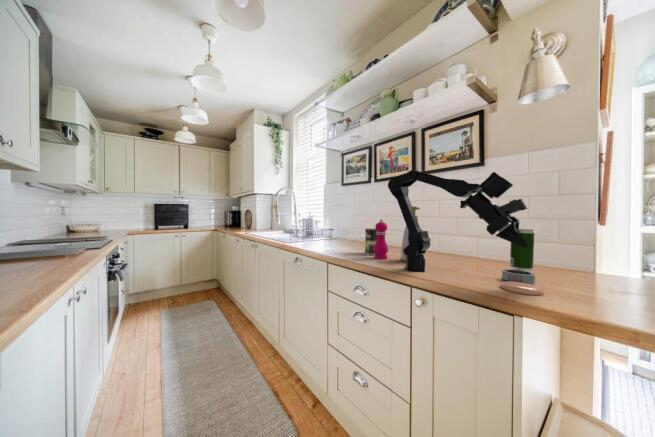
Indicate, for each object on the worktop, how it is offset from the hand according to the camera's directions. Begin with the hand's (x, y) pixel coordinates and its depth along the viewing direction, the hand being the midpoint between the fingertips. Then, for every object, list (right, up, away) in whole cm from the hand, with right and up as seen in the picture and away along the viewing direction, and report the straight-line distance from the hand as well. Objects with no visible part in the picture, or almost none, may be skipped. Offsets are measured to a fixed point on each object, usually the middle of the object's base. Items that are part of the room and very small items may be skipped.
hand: (527, 245), depth 68 cm
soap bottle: (-19, -13, +43) cm, 48 cm away
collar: (+6, -13, +10) cm, 18 cm away
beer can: (-1, -7, +1) cm, 7 cm away
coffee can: (-33, -12, +62) cm, 71 cm away
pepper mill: (-32, -12, +50) cm, 60 cm away
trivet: (-1, -13, +1) cm, 13 cm away
